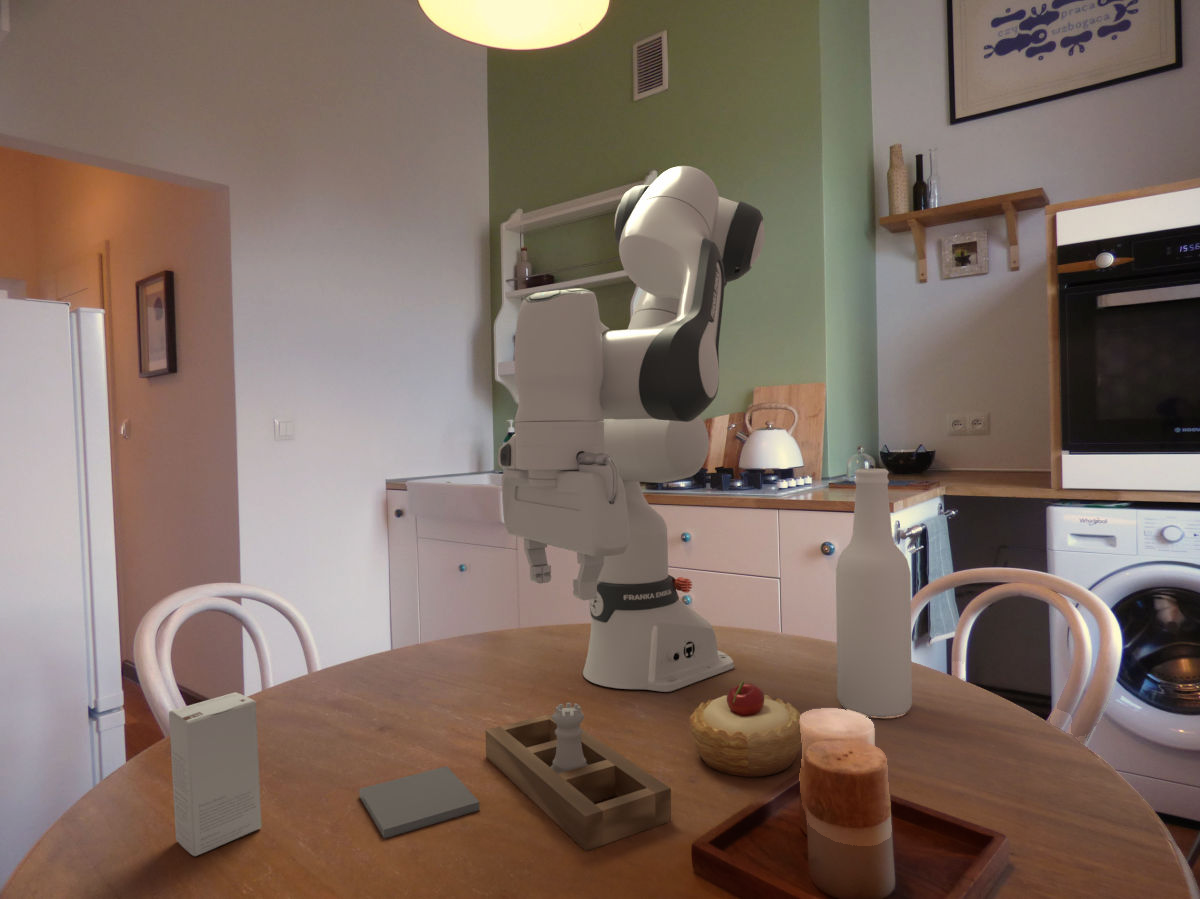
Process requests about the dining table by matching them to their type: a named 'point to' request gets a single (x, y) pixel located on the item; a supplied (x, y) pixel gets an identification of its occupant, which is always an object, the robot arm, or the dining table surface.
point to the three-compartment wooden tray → (579, 783)
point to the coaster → (417, 801)
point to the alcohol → (873, 608)
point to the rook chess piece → (568, 738)
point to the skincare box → (215, 772)
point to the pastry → (746, 732)
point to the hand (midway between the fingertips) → (561, 589)
